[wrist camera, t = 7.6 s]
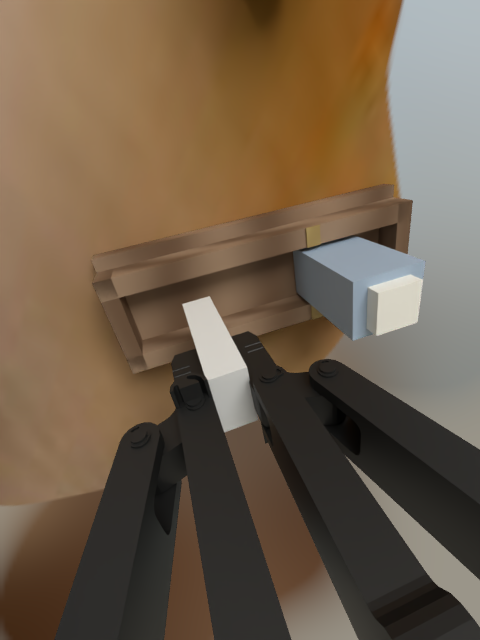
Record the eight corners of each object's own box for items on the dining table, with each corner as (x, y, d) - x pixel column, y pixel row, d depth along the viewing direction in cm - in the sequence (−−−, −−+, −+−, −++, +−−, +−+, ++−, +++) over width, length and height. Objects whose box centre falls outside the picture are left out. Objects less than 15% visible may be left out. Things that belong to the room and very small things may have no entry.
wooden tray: (138, 360, 23) (137, 385, 20) (93, 255, 19) (85, 270, 16) (378, 287, 26) (403, 301, 23) (384, 183, 22) (415, 187, 19)
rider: (296, 292, 22) (361, 348, 16) (292, 246, 21) (363, 288, 14) (346, 277, 23) (429, 326, 16) (345, 232, 21) (438, 265, 14)
